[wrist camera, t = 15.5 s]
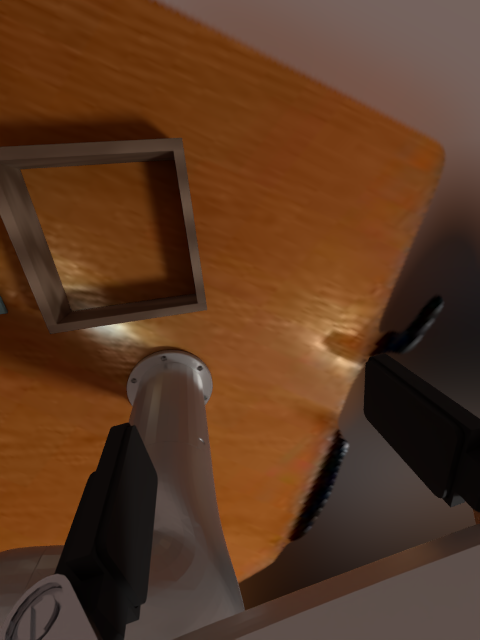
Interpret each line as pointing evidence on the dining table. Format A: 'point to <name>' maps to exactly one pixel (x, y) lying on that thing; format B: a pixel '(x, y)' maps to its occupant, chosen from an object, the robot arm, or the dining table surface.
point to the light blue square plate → (2, 307)
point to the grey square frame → (33, 252)
